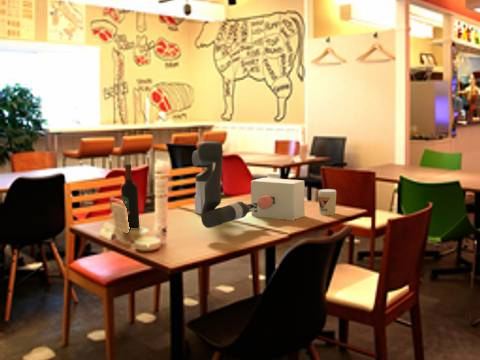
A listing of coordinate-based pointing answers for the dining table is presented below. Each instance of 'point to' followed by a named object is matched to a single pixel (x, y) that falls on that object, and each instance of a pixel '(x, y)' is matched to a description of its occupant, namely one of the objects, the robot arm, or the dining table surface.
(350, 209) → the dining table surface
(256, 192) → the console
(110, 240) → the dining table surface
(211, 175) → the robot arm
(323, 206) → the coffee cup
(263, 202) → the knob
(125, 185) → the wine bottle
